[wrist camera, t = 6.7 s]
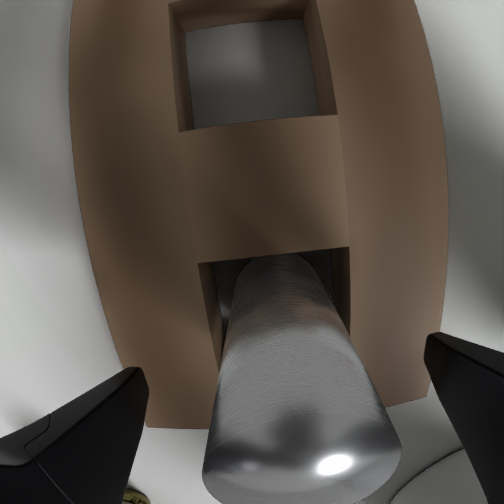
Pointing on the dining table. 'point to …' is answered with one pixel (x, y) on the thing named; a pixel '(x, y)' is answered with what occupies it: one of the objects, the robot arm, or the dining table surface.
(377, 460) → the lock pin
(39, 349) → the dining table surface
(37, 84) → the dining table surface
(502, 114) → the dining table surface
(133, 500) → the cup
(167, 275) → the mount block
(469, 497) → the cylinder vase
